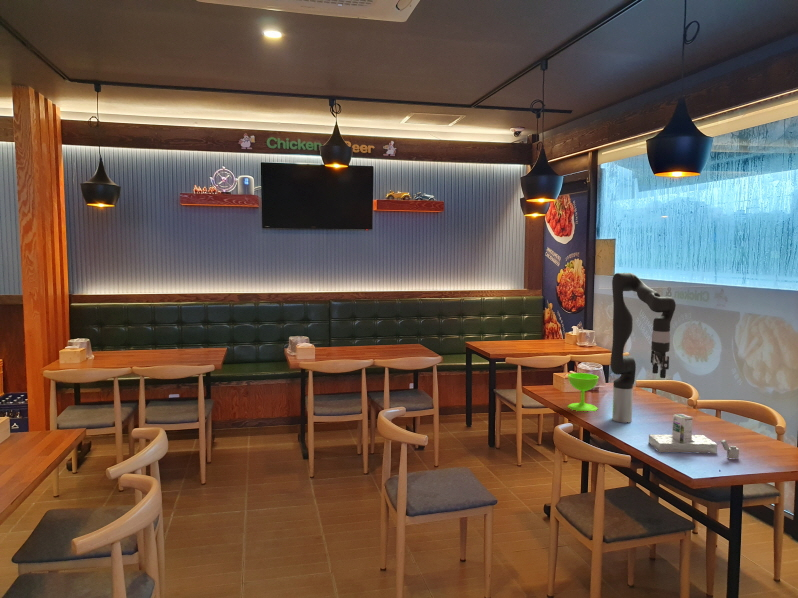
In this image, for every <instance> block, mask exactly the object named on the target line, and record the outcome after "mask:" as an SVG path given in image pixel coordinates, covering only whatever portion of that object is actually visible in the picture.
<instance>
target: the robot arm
mask: <svg viewBox="0 0 798 598" xmlns="http://www.w3.org/2000/svg"><path fill="white" fill-rule="evenodd" d="M611 285H612V286H611V290H612V299H613V301H612V302H613V303H612V305H613V308H612V309H613V311H612V312H613V316H612V343H611V344H612V345H611V352H610V353H611V355H610V368H611V372H612V373H613V374H614V375H620V376H619V377H618V378H616V379H615V380H614V381H613V386H612V387H613V390H612V391H613V392H612V393H613V394H612V421H614V422H617V423H622V424H623V423H624V424H625V423H627V422H628V423H631V422H632V421H633V420H632V419H633V396H634V395H633V394H634V393H633V392H634V390H633V389H634V384H635V379H636V371H637V369H636V368H637V367H636V365H637V364H636V361H635V359H634V357H633V356H631V355H624V351H625V350H624V349H625V346H626V343H627V341H628V340H629V338H630V337H631V335H632V332H633V316H632V314H631V311H630V309H629V308H628V306H627V305H626V302H625V299H624V292H631V291H632V292H635V293H636V296H637V297H638V299H639V300H640V301H642V302H643V303H645V304H646V305H647V307H648V308H649V309H650V310H651V311H652V312H654V313H658V314H659V313H661V315H660V316H657V317H655V318H654V319H653V322H652V334H651V345H650V346H651V347H650V349H651V352H650V353H651V355H650V363H651V365H652V371H651V372H652V374H658V373H659V377H660V379H665V378H667V377H666V376H667V370H669V368H670V356H669V355H667V353H668V352H670V347H671V321H672V319H673V316H674V313H675V310H676V306H677V305H676V301H675V299H674V298H673V297H671V296H661V295H660V293H659V292H658V291H656V290H654V289H652V288H651V287H649V286H648V285H647V284H645V283H644V282H643V281H642V280H641V279H640V278H639V277H638V276H637V275H636V274H634V273H632V272H617V273H615V274H613V276H612V280H611ZM659 368H660V370H659ZM628 423H627V424H628Z"/></svg>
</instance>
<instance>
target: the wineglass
mask: <svg viewBox="0 0 798 598" xmlns="http://www.w3.org/2000/svg"><path fill="white" fill-rule="evenodd" d="M567 377H568V382H569V384H571V386H572V387H573V388H574V389H576V390H578V391H580V392H581V393H580V402H573V403H570V404H568V405H567V407H568V408H570V409H572V410H571V411H573V410H576V411H575V412H577V411H595V412H597V411H598V410H597V409H598V407H597V406H595V405H594V404H590V403H586V402H585V400H586V399H585V398H586V397H585V392H587V391H591V390H592V389H594V388H595V387H596V386H597V384H598V383H599V376H598V375H596V374H592V373H583V372H574V373H569V374H568V375H567ZM568 408H567V409H568ZM570 409H569V410H570ZM596 410H597V411H596Z"/></svg>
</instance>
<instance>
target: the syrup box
mask: <svg viewBox="0 0 798 598" xmlns="http://www.w3.org/2000/svg"><path fill="white" fill-rule="evenodd" d="M693 420H694V417H693V416H689V415H686V414H684V413H676V414H673V416H672V431H671V433H672V434H671V435H672V439H674V440H675V441H676V442H691V440H692V435H693Z"/></svg>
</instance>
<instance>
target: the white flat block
mask: <svg viewBox="0 0 798 598" xmlns="http://www.w3.org/2000/svg"><path fill="white" fill-rule="evenodd" d="M649 443H650V444H651V445H652V446H651V445H650V444H649ZM648 444H649V445H650V446H651V447H652V448H654V449H655V450H656V449H657V450H658V451H659V452H658V453H661V452H699V453H698V454H707V453H706V452H710V453H709V454H718V443H716V442H715V441H713V440H711V439H710V438H708V437H707V436H705V435H703V434H702V435H701V434H695V435H694V434H692V440H691V442H676V441H675V440H674V439H672V434H648ZM657 450H656V451H657Z"/></svg>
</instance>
